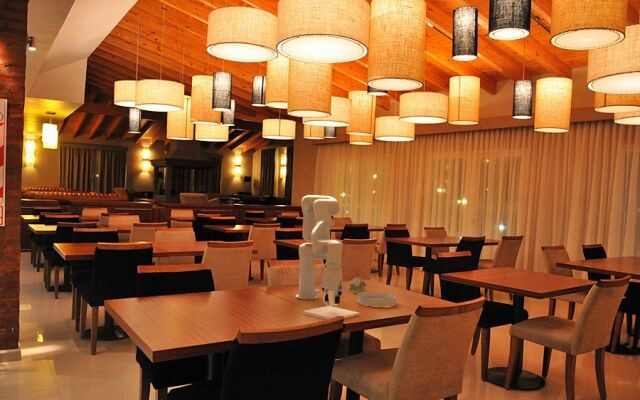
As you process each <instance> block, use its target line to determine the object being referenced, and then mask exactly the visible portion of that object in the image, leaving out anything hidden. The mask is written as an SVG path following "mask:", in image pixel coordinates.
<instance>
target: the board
mask: <svg viewBox="0 0 640 400" xmlns="http://www.w3.org/2000/svg"><path fill="white" fill-rule="evenodd" d="M302 315H306V316H309V317H313V318H318V319H321V320H326V319H329V318H333V317H336V316H344V317H345V318H348V319H350V318H349V317H352V316H356V315H359V316H360V312H358V311H354V310H350V309H345V308H341V307H337V306H328V305H326V306H322V307H317V308H316V307H315V308H311V309H307V310H304V311H302ZM356 317H357V316H356ZM352 318H353V317H352ZM326 321H327V320H326Z"/></svg>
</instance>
